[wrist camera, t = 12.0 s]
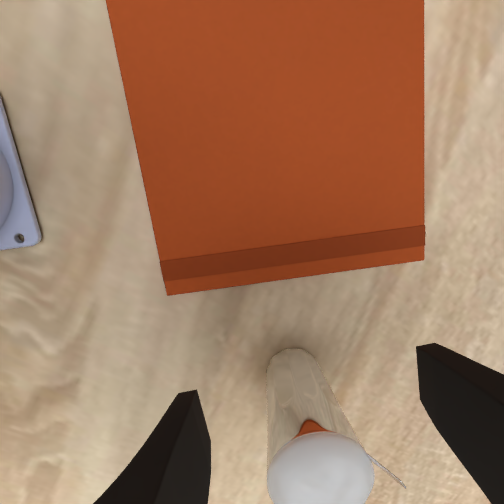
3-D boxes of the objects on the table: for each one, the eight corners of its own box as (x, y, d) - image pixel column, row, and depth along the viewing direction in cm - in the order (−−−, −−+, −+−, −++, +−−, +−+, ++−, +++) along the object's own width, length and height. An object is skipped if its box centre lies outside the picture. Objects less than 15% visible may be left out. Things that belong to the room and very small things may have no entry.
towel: (168, 293, 22) (166, 296, 22) (67, -190, 16) (64, -197, 15) (422, 258, 22) (425, 260, 22) (420, -234, 16) (424, -243, 16)
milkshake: (351, 370, 24) (431, 523, 14) (281, 412, 25) (311, 585, 15) (315, 317, 23) (375, 443, 13) (241, 362, 23) (247, 515, 14)
